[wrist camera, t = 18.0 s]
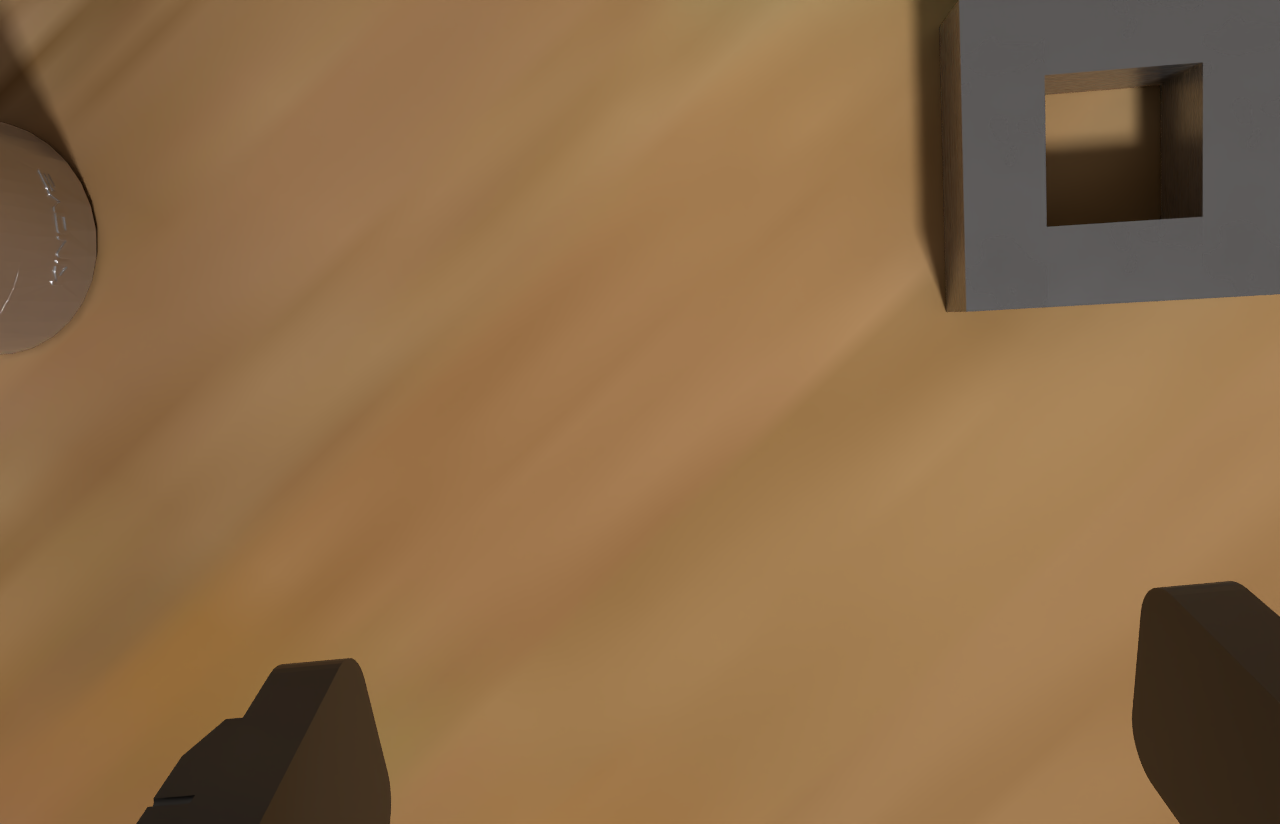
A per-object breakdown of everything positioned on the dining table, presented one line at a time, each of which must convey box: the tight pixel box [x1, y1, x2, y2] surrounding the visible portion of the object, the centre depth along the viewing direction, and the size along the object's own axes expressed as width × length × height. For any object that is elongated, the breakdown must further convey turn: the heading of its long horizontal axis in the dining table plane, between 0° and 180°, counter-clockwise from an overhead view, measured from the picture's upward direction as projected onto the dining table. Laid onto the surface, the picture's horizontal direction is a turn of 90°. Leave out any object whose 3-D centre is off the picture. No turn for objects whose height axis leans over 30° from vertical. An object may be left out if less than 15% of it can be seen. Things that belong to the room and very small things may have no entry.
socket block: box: [939, 0, 1280, 312], centre depth 32 cm, size 10×10×3 cm
